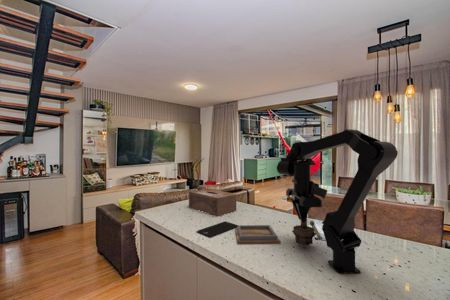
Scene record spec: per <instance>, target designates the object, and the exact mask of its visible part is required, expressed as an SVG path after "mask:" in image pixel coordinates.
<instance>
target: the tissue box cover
mask: <svg viewBox="0 0 450 300" xmlns="http://www.w3.org/2000/svg"><path fill="white" fill-rule="evenodd" d="M189 207H190V208H189ZM188 208H189V209H192V208H193V210H195V209H196V211H198V210H200V211H199V212H201V211H203V212H202V213H204V212H206V213H205V214H207V213H209V214H208V215H211V216H214V215H215V216H214V217H216V218H217V217H218V216H219V217H222V216H225V215H224V214H226V215H228V213H229V214H232V213H235V212H234V211H236V212H237V193H233V192H227V191H221V190H216V189H211V188H202V189H195V190H189V191H188ZM231 212H232V213H231Z"/></svg>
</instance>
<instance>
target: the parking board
mask: <svg viewBox="0 0 450 300" xmlns="http://www.w3.org/2000/svg"><path fill="white" fill-rule="evenodd" d="M234 232H235V239H236V242H237V243H236V244H237V245H281V244H282V243H281V240H280V238H279V237H278V236H277V240H240V238H239V234H238V229H237V228H235V229H234ZM241 232H242V235H271V233H270V232H269V230H268V229H261V230H241Z"/></svg>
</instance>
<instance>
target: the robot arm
mask: <svg viewBox="0 0 450 300" xmlns="http://www.w3.org/2000/svg"><path fill="white" fill-rule="evenodd" d="M347 145H348V147H350V149H351V150H352V151H353V152H355V153H357V155H358V156H357V171H356V173H355V175H354V177H353V179H352V181H351V182H350V185H349V186H348V187H347V188H348V189H347V191H346V193H345V194H344V197H343V199H342V200H341V202H340V205H339V206H338V208H337V210H334V211H329V212H327V213H326V215H325V218H324V220H323V221H321V224H322V226H321V231H322V232H323V236H324V240H326V241H325V243H326V246H327V248H329V249H331V250H332V260H331V259H330V260H329V259H328V260H327V263H328V264H329V266H330V267H332V268H333V269H334V270H335V271H336V272H337V273H338V274H360V273H361V270H360V268H358V267H356V250H355V249H356V248H359V247H360V246H361V244H362V242H363V241H362V240H361V238H360V237H359V236H358V234H357V233H356V231H355V227H356V219H355V218H356V215H357V214H358V212H359V211H360V208H361V206H362V205H363V203H364V201H365V200H366V198H367V196H368V194H369V192H370V191H371V189H372V187H373V185H374V183H375V181H376V180H377V178H378V177H379V175H382V173H383V172H385V171H386V170H387V169H388V168H389V167H390V166H391V165H392V164H393V162H394V161H396V159H397V157H398V154H399V151H398V150H397V148H396V146H395V145H394V144H393V143H391V142H390V141H381V140H380V139H377V138H374V137H372V136H370V135H368V134H366V133H364V132H361V131H360V130H358V129H344V130H343V131H340V132H337V133H334V134H331V135H327V136H324V137H321V138H318V139H315V140H311V141H309V140H308V141H297V142H293V143H292V145H291V148H290V150H289V151H288V153H287V155H286V156H285V157H281V158H280V161H279V162H278V163H277V165H276V171H277V173H278V174H280V175H282V176H290V177H293V179H291V183H293V188H291V187H290V188H287V189H286V191H285V196H286V197H288V198H289V197H290V196H291V198H289V200H290V201H291V202H290V203H291V204H292V206H293V208H294V211H295V213H296V216H297V219H298V220H299V221H300V222H301V221H302V222H305V221H306V218H307V219H308V215H309V211H310V209H311V208H322V207H323V201H322V199H326V196H327V194H328V190H327V189H326V188H322V187H320V184H319V183H316V182H314V181H313V180H311V178H312V176H311V175H312V174H311V173H312V172H311V166H316V165H317V163H316V162H315V161H314V160H313V159H312V158H313V157H315V156H317V155H318V154H319V153H321V152H324V151H325V152H326V151H329V150H333V149H337V148H340V147H344V146H347ZM319 197H321V198H322V199H321V198H319Z"/></svg>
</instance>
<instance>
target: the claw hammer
mask: <svg viewBox="0 0 450 300" xmlns="http://www.w3.org/2000/svg"><path fill="white" fill-rule="evenodd" d="M309 222H310V227H312V228H314V230H315V231H314V233H316V235H315V236H314V240H315V241H323V242H326V239H325V237H324V238H323V236H322V235H321V234H320V232H319V230H318V228H317V227H316V225H315V222H314V221H312V220H310V221H309Z"/></svg>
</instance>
